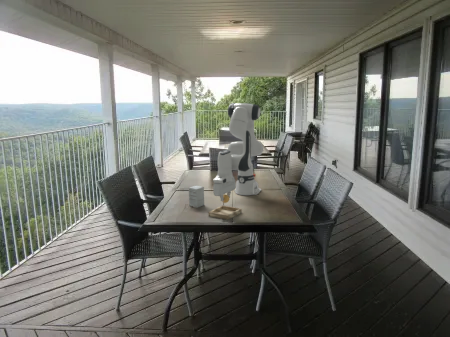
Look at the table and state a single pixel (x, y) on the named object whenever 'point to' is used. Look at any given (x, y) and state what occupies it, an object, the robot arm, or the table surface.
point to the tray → (225, 212)
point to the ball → (225, 198)
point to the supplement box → (196, 196)
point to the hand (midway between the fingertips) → (225, 199)
